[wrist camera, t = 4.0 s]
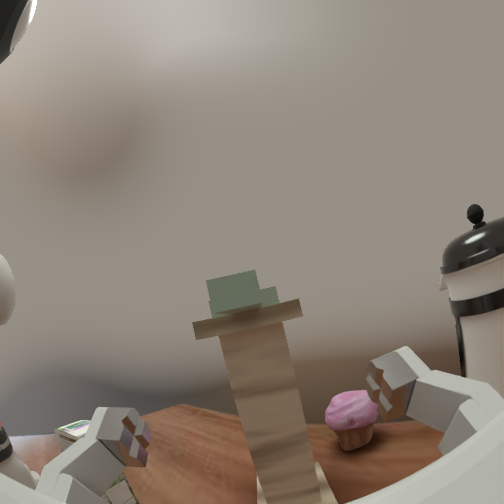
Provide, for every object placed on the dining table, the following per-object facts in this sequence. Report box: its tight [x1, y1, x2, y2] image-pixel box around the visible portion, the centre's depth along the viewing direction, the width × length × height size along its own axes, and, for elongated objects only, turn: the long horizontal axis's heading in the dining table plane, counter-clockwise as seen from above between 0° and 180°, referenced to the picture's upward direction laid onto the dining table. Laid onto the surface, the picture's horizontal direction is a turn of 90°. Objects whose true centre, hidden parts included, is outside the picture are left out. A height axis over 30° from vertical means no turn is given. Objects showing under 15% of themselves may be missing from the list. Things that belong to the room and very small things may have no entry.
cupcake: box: [325, 390, 379, 451], centre depth 34 cm, size 9×9×10 cm
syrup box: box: [55, 420, 138, 504], centre depth 22 cm, size 6×6×14 cm
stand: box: [193, 299, 338, 504], centre depth 25 cm, size 13×9×26 cm
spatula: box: [206, 270, 279, 318], centre depth 23 cm, size 21×6×2 cm, turn 179°
